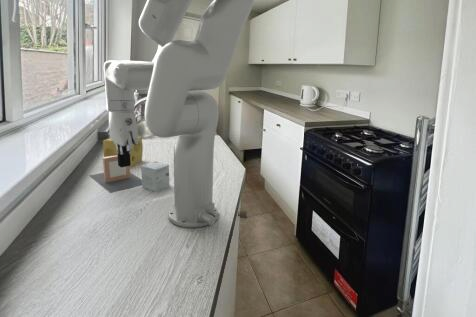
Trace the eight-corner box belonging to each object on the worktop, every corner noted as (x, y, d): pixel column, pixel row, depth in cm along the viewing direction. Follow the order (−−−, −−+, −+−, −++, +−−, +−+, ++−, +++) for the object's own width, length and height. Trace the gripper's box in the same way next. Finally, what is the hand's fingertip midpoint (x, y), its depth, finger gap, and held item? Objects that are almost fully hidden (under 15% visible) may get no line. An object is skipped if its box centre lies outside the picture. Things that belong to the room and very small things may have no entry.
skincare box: (155, 192, 92) (154, 169, 89) (141, 187, 94) (140, 165, 92) (169, 186, 96) (169, 164, 94) (156, 182, 99) (155, 160, 97)
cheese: (129, 169, 110) (127, 142, 107) (102, 166, 112) (100, 139, 109) (143, 161, 120) (142, 136, 117) (118, 158, 122) (117, 134, 119)
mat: (148, 184, 97) (148, 183, 97) (110, 194, 89) (110, 192, 89) (124, 169, 109) (124, 168, 109) (88, 176, 101) (88, 175, 101)
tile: (130, 177, 101) (129, 154, 99) (106, 182, 96) (104, 158, 93) (128, 176, 102) (127, 153, 100) (104, 181, 97) (102, 157, 94)
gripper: (145, 108, 85) (147, 170, 90) (122, 102, 95) (125, 158, 101) (118, 110, 80) (122, 175, 85) (97, 103, 90) (102, 161, 96)
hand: (124, 165), depth 93 cm, fingers closed
